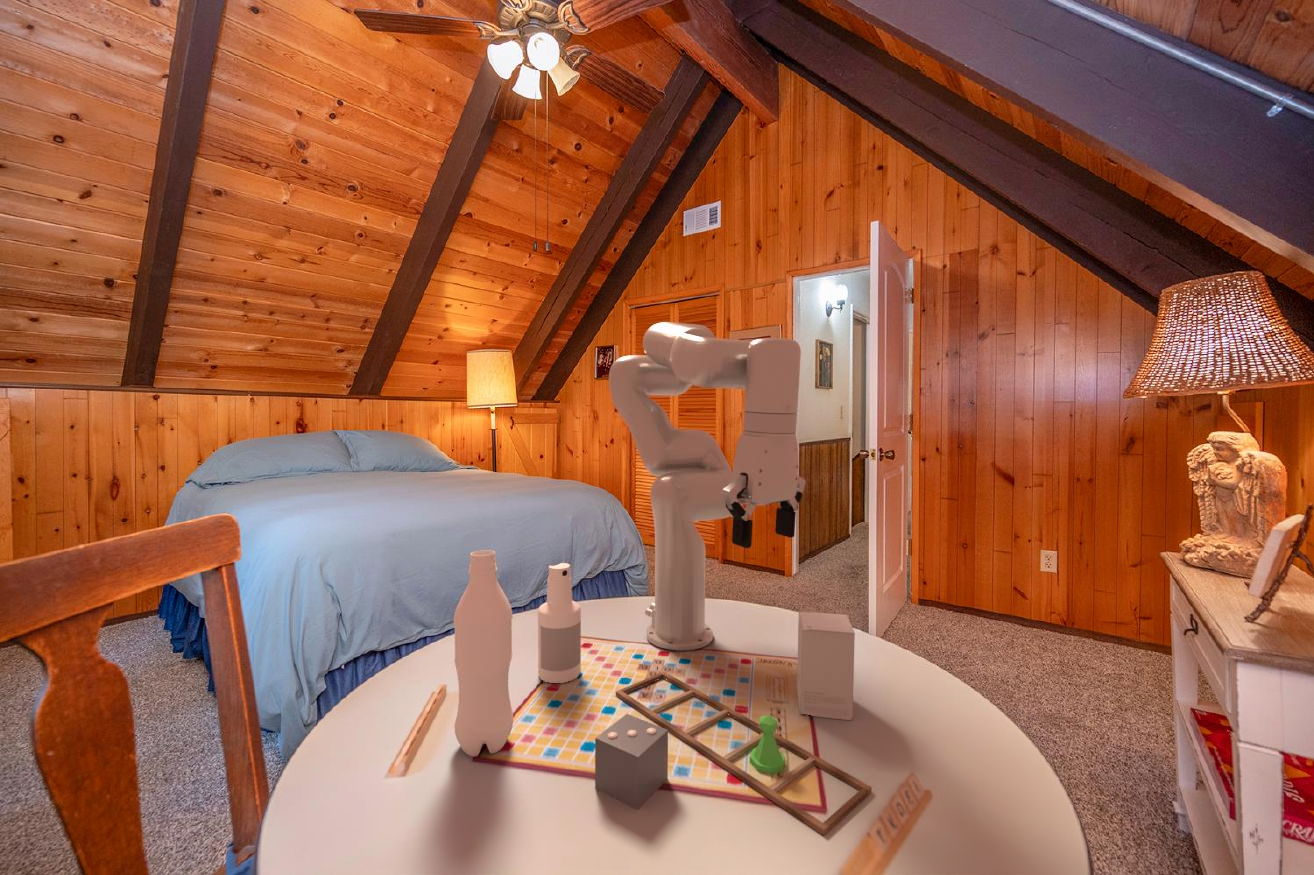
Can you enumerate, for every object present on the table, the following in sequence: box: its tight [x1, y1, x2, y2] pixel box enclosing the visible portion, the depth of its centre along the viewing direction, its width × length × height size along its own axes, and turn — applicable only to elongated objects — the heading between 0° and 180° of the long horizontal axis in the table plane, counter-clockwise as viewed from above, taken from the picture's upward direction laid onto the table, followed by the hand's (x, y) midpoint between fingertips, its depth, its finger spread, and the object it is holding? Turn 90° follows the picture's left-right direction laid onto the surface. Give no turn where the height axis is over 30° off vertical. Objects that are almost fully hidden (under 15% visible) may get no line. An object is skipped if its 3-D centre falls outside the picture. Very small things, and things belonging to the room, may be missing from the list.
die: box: [594, 713, 669, 811], centre depth 63 cm, size 6×6×6 cm
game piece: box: [749, 715, 786, 775], centre depth 67 cm, size 4×4×6 cm
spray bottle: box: [537, 562, 582, 684], centre depth 88 cm, size 7×7×18 cm
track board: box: [615, 671, 873, 837], centre depth 72 cm, size 36×10×1 cm, turn 41°
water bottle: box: [453, 549, 514, 757], centre depth 69 cm, size 7×7×25 cm
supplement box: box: [796, 611, 856, 721], centre depth 80 cm, size 7×7×13 cm
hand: (763, 540), depth 80 cm, fingers open, 9 cm apart
